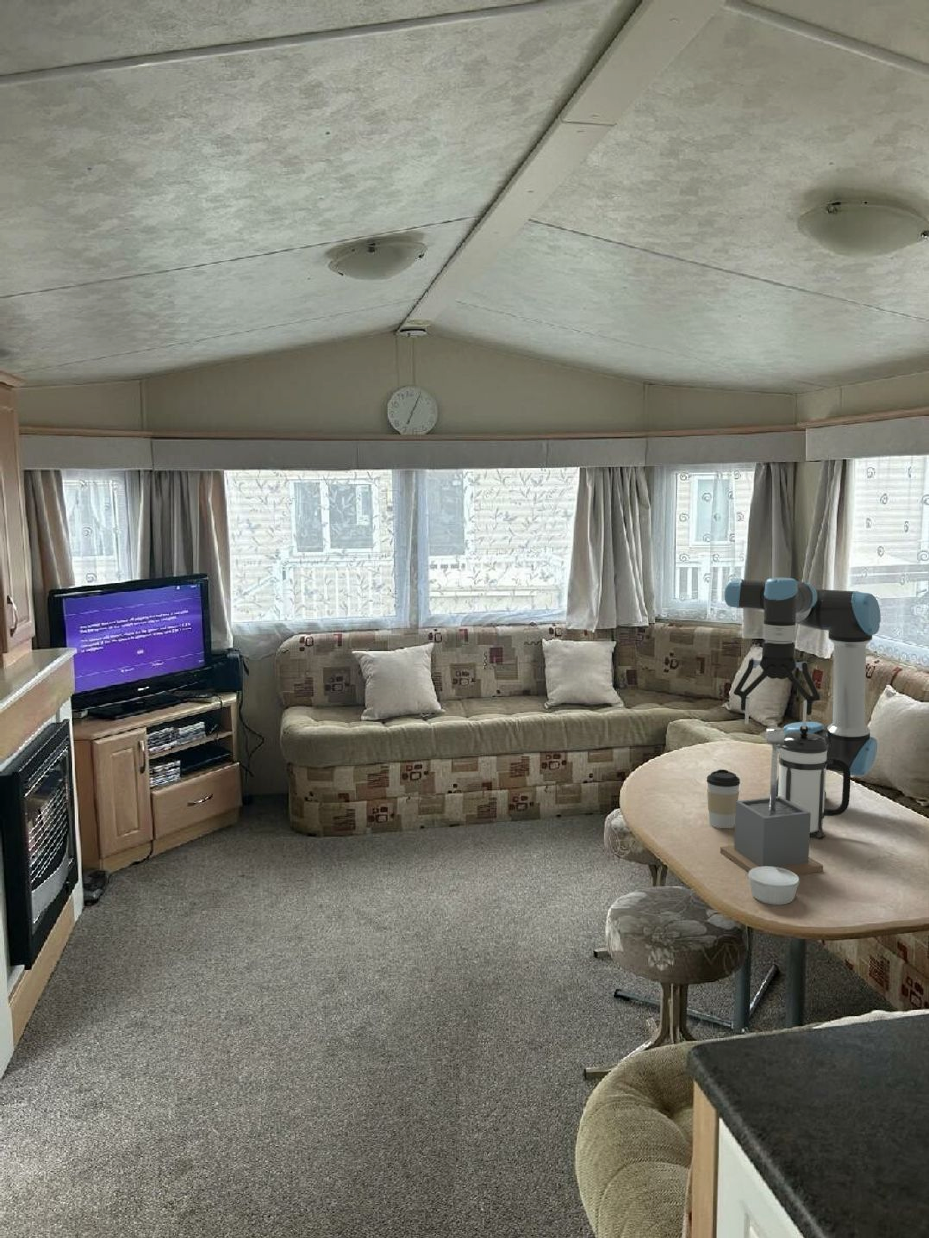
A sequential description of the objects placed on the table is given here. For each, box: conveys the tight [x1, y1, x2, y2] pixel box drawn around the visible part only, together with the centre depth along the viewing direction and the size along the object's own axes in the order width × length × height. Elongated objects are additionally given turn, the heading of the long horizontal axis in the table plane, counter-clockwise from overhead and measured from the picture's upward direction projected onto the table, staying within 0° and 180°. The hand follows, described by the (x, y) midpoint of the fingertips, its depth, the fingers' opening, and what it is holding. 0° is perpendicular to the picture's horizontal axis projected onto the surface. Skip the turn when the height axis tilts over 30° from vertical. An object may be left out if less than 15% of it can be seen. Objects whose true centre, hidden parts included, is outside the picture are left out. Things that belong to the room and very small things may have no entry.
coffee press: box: [778, 726, 851, 840], centre depth 263 cm, size 17×16×30 cm
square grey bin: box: [719, 796, 824, 876], centre depth 243 cm, size 18×18×14 cm
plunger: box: [747, 726, 798, 816], centre depth 241 cm, size 10×10×22 cm
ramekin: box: [747, 866, 800, 906], centre depth 224 cm, size 11×11×5 cm
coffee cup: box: [706, 769, 741, 829], centre depth 270 cm, size 9×9×15 cm
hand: (775, 725), depth 239 cm, fingers open, 13 cm apart
